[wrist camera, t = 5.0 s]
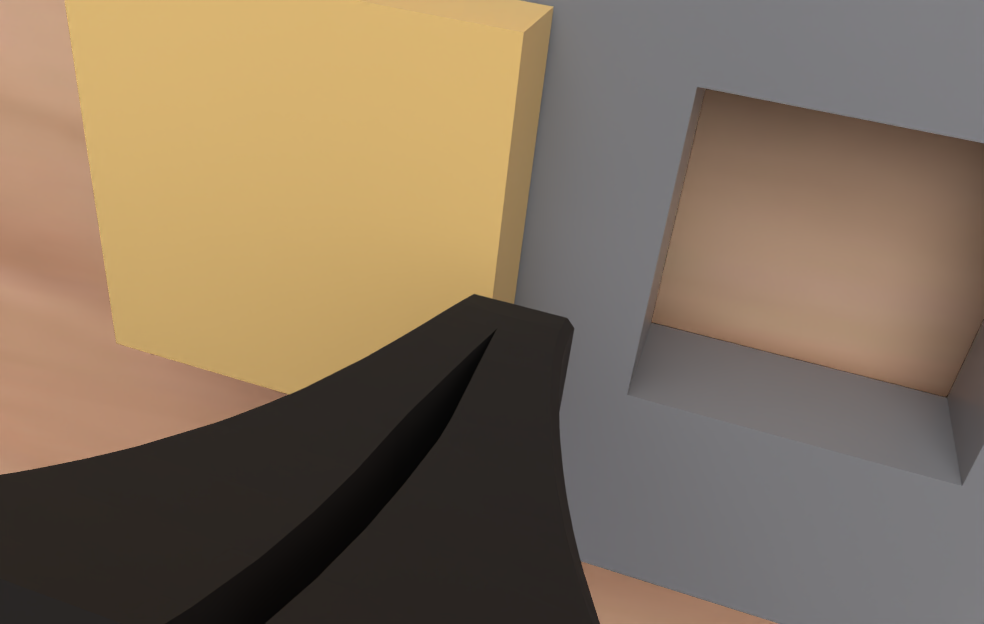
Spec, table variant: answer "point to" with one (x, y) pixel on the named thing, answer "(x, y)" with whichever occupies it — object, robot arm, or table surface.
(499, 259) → the yellow flat square block
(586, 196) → the socket plate
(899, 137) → the table surface
